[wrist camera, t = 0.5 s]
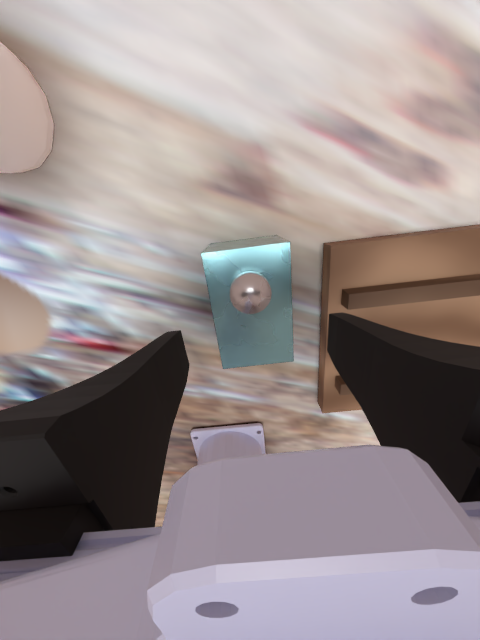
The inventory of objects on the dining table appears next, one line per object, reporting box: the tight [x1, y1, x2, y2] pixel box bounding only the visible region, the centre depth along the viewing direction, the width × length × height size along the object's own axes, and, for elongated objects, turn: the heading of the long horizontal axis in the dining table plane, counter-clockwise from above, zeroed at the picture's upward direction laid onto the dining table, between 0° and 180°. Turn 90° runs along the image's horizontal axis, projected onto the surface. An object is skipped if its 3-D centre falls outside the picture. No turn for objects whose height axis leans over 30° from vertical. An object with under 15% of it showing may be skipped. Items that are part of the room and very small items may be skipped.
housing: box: [201, 235, 294, 369], centre depth 16 cm, size 8×5×6 cm, turn 7°
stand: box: [318, 225, 480, 413], centre depth 19 cm, size 16×16×3 cm
